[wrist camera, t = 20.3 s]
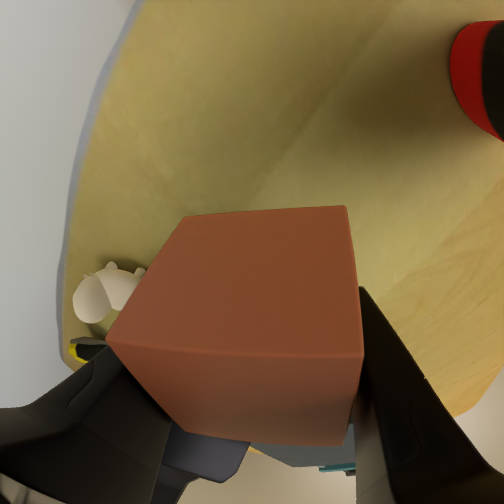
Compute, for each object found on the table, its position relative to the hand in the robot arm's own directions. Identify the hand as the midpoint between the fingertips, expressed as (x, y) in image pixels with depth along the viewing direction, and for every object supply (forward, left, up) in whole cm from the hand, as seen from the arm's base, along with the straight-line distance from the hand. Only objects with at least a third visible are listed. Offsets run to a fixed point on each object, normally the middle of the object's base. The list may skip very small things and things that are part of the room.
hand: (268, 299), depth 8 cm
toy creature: (-13, -14, -12) cm, 23 cm away
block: (0, 0, -1) cm, 1 cm away
